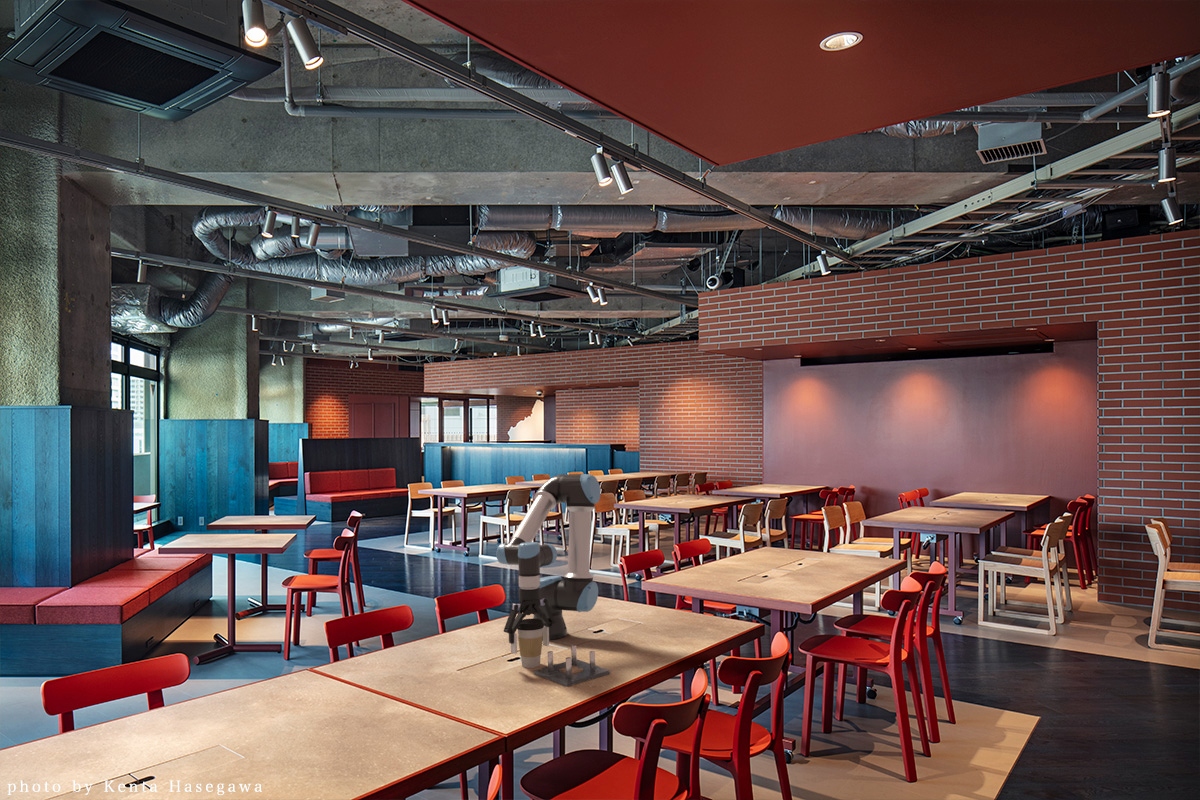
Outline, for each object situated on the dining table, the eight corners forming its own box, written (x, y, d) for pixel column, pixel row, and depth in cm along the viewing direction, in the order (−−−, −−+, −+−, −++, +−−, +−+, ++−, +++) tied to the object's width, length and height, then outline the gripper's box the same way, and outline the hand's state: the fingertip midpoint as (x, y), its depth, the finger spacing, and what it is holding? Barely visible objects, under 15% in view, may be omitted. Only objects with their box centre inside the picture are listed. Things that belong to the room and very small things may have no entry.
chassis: (576, 662, 255) (575, 641, 256) (609, 673, 241) (609, 651, 242) (534, 673, 244) (533, 652, 244) (566, 686, 230) (566, 663, 230)
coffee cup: (547, 660, 258) (546, 618, 259) (542, 669, 248) (541, 624, 249) (520, 660, 259) (519, 618, 260) (514, 669, 249) (513, 624, 250)
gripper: (551, 581, 266) (552, 640, 265) (493, 590, 250) (493, 653, 248) (564, 584, 260) (565, 644, 259) (505, 593, 244) (505, 658, 243)
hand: (530, 649), depth 254 cm, fingers open, 13 cm apart
